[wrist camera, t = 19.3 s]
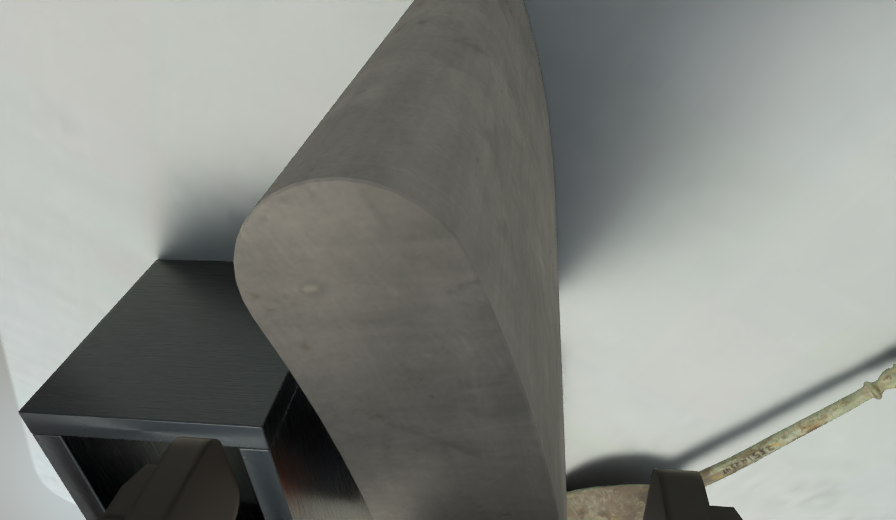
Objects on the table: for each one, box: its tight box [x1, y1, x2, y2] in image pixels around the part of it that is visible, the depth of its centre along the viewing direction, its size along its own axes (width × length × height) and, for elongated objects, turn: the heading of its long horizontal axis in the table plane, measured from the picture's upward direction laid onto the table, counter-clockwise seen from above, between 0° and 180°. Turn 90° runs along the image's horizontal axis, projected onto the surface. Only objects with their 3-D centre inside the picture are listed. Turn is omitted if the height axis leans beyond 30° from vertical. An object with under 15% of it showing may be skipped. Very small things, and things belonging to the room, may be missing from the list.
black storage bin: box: [19, 260, 373, 520], centre depth 32 cm, size 10×21×10 cm, turn 3°
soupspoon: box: [566, 364, 896, 520], centre depth 32 cm, size 22×3×7 cm
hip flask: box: [233, 0, 567, 520], centre depth 17 cm, size 16×4×20 cm, turn 10°
